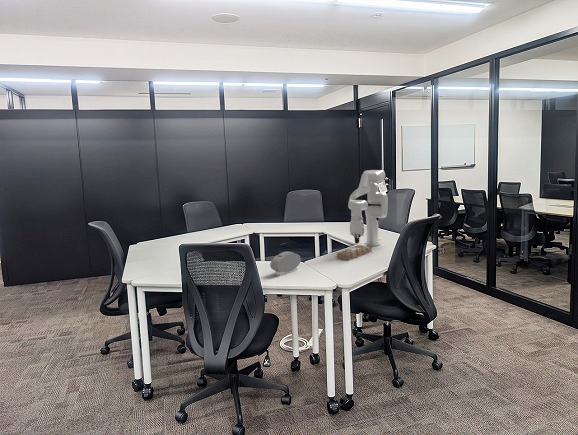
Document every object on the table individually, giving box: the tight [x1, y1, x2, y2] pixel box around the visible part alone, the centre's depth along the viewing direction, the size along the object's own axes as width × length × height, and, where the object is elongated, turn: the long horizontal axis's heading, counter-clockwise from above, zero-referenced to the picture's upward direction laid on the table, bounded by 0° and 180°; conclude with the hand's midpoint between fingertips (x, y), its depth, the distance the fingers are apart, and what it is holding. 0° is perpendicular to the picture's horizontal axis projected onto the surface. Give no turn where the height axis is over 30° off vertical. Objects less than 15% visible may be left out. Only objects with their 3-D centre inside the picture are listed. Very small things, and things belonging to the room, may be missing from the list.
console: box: [336, 245, 373, 261], centre depth 310 cm, size 32×10×4 cm, turn 141°
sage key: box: [357, 243, 367, 248], centre depth 318 cm, size 5×5×3 cm
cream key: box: [345, 247, 356, 252], centre depth 306 cm, size 5×5×3 cm
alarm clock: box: [269, 251, 302, 276], centre depth 269 cm, size 23×6×13 cm, turn 141°
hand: (357, 243), depth 312 cm, fingers closed
